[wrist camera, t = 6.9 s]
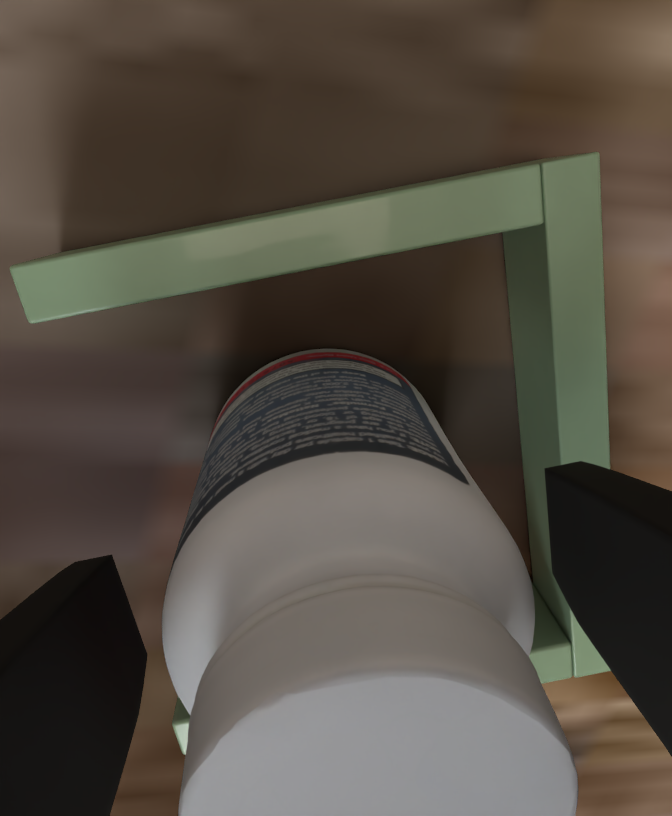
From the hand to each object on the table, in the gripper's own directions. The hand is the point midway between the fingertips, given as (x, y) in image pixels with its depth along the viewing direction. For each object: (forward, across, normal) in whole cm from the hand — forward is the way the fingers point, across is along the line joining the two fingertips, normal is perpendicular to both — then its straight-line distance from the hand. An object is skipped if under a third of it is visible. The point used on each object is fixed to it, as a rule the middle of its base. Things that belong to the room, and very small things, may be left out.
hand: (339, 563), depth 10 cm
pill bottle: (+5, 0, 0) cm, 5 cm away
